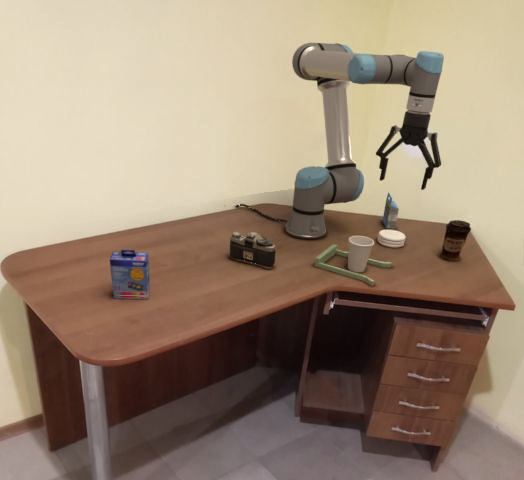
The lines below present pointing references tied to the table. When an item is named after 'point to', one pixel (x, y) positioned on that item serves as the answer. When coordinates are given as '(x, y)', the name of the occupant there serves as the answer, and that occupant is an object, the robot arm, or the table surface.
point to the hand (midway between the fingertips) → (402, 184)
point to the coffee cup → (454, 239)
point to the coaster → (391, 238)
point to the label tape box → (390, 213)
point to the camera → (252, 249)
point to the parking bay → (328, 254)
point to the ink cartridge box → (130, 274)
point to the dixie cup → (359, 252)
